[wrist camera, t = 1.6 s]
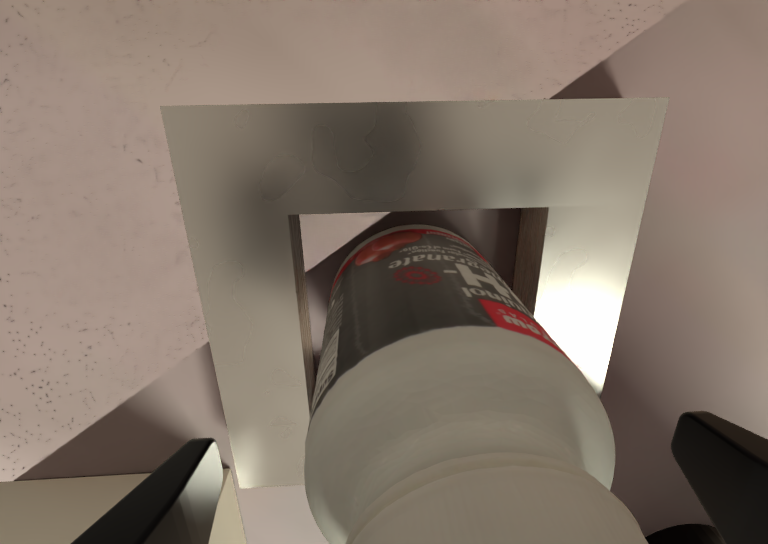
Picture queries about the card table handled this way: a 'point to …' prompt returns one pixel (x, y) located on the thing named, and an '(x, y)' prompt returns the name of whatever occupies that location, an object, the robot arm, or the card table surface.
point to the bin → (90, 508)
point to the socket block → (391, 194)
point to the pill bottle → (451, 410)
